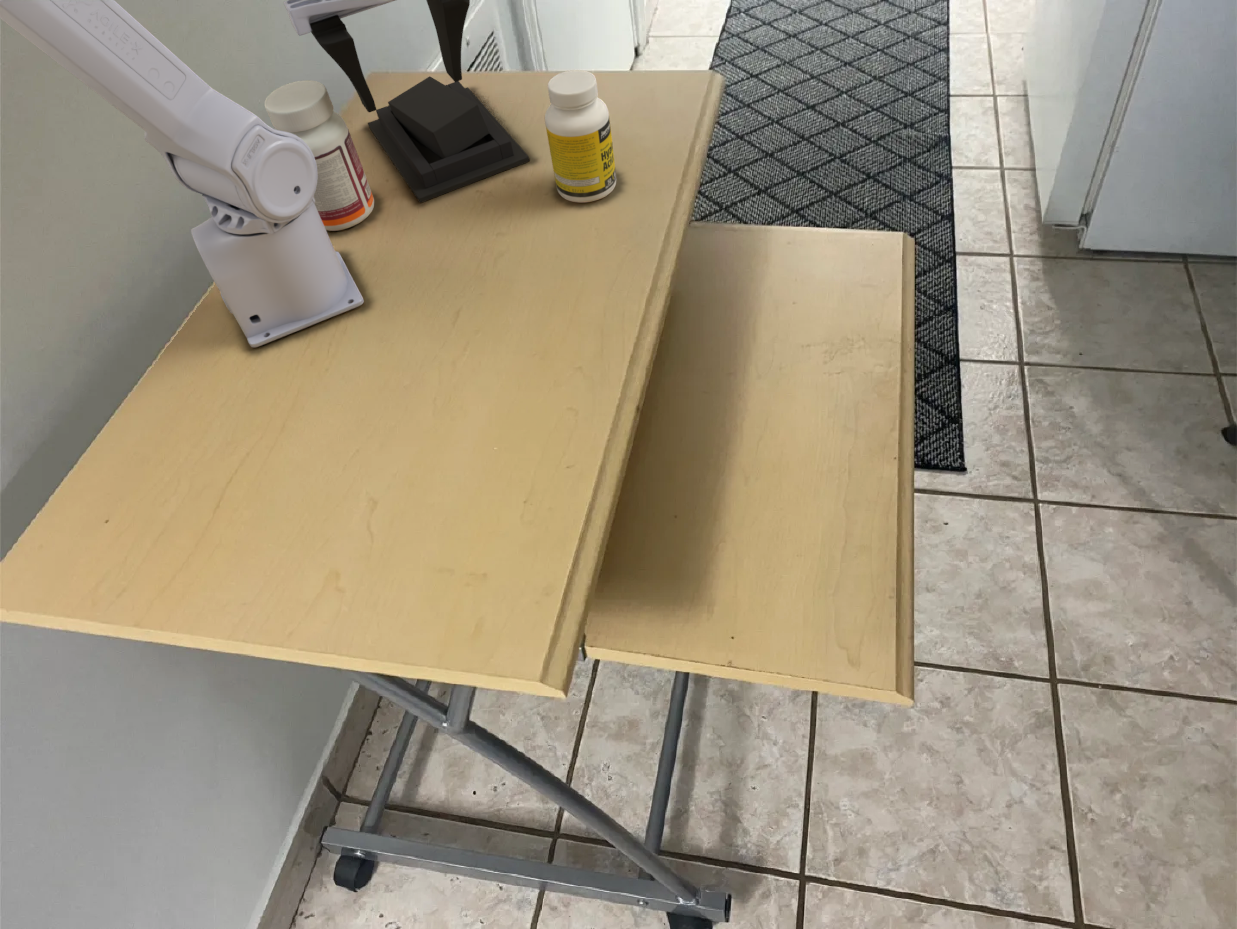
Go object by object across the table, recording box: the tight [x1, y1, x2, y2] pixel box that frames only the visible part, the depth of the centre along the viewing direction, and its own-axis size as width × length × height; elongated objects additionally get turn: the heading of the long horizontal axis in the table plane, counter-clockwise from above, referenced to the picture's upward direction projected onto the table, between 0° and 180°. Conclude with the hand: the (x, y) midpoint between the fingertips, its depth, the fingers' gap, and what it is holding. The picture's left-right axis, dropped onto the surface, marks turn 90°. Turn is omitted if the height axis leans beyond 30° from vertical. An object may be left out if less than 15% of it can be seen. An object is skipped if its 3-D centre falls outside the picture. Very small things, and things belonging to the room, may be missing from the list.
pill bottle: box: [264, 79, 375, 232], centre depth 78 cm, size 6×6×11 cm
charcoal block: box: [387, 76, 490, 159], centre depth 86 cm, size 10×5×3 cm, turn 36°
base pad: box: [367, 81, 531, 204], centre depth 87 cm, size 16×11×2 cm
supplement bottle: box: [544, 69, 617, 204], centre depth 77 cm, size 5×5×10 cm
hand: (412, 91), depth 76 cm, fingers open, 7 cm apart
